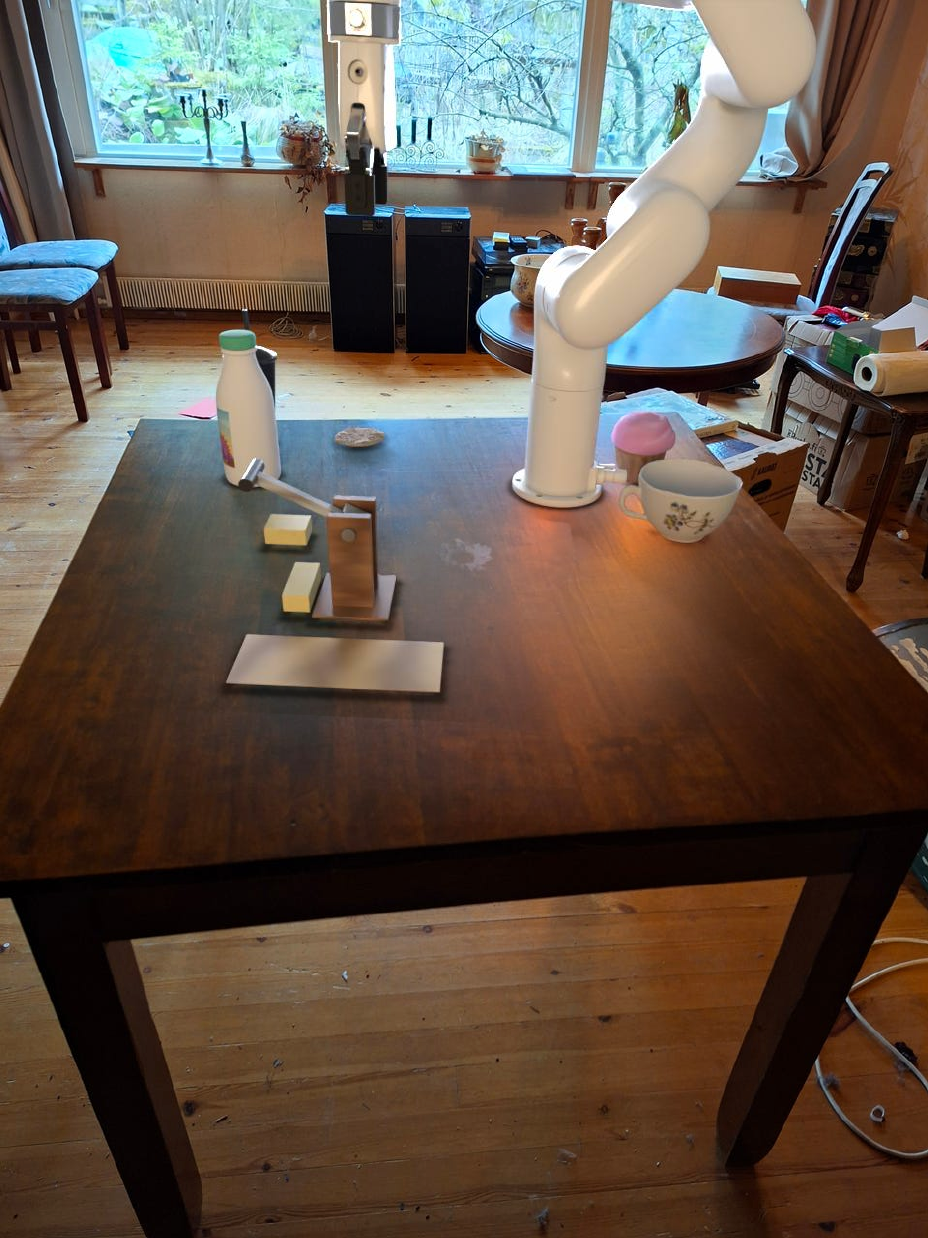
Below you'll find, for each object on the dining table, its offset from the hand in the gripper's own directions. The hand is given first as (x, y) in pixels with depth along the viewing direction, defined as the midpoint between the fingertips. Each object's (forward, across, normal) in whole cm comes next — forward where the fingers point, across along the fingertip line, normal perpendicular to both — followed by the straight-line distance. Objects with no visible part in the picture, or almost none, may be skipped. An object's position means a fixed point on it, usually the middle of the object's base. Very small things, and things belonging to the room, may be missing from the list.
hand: (367, 208), depth 96 cm
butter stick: (+36, -29, +3) cm, 46 cm away
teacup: (+35, -7, -40) cm, 54 cm away
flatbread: (+36, +18, +5) cm, 40 cm away
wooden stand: (+36, -29, -3) cm, 46 cm away
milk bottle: (+36, +3, +17) cm, 40 cm away
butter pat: (+36, -16, +8) cm, 40 cm away
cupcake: (+35, +10, -38) cm, 52 cm away
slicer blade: (+24, -29, +3) cm, 38 cm away
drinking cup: (+36, +14, +20) cm, 43 cm away
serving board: (+36, -41, -3) cm, 54 cm away
